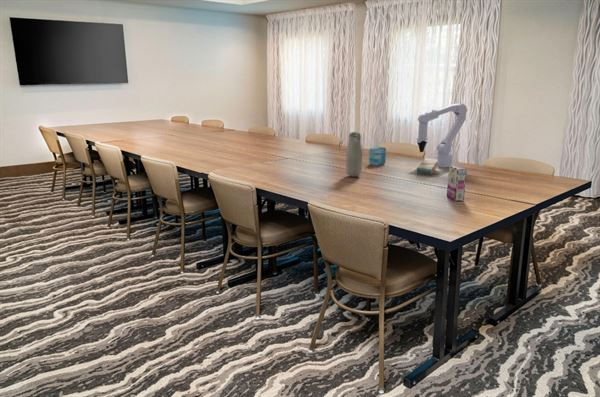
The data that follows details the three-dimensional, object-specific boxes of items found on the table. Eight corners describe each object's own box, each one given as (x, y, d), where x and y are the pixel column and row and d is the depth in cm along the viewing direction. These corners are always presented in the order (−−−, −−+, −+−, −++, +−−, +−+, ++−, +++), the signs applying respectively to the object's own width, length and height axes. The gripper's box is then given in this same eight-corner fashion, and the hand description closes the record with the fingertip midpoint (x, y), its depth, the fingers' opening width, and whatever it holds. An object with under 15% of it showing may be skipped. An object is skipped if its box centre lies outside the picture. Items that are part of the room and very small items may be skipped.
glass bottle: (344, 177, 290) (344, 132, 282) (348, 174, 299) (349, 130, 292) (359, 178, 286) (360, 133, 279) (363, 175, 296) (364, 131, 288)
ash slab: (423, 160, 303) (416, 168, 295) (437, 161, 298) (430, 169, 290) (423, 166, 305) (416, 173, 297) (437, 167, 300) (430, 175, 292)
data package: (373, 165, 327) (373, 148, 324) (368, 164, 330) (369, 148, 327) (385, 164, 333) (386, 147, 330) (380, 163, 337) (381, 146, 334)
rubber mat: (419, 169, 314) (419, 165, 313) (448, 172, 303) (448, 168, 302) (407, 174, 297) (407, 170, 297) (437, 178, 286) (438, 174, 286)
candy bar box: (464, 201, 233) (467, 169, 229) (454, 201, 233) (457, 169, 229) (455, 195, 244) (457, 165, 240) (446, 196, 244) (448, 165, 240)
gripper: (421, 130, 323) (419, 150, 327) (413, 132, 312) (412, 152, 315) (430, 131, 319) (429, 151, 323) (423, 133, 308) (422, 153, 311)
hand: (421, 152), depth 319 cm, fingers closed
